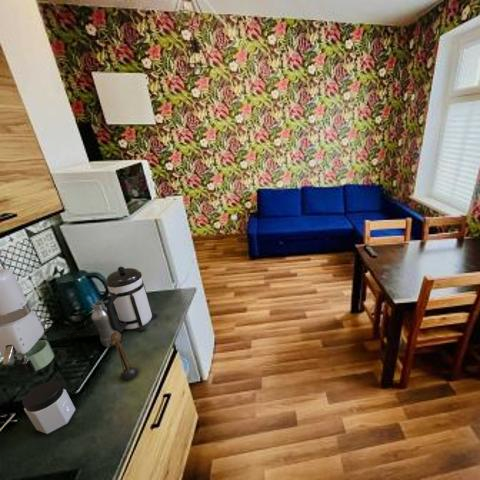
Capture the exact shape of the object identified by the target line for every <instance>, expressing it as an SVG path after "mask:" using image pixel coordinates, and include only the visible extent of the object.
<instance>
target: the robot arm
mask: <svg viewBox="0 0 480 480" xmlns="http://www.w3.org/2000/svg"><path fill="white" fill-rule="evenodd" d="M46 331H47V330H46V322H45V321H41V320H40V318H39V317H38V315H37V314H36V313H35V311H34V310H33V309H32V307H31V305H30V304H29V301H28V300H27V297H26V295H25V293H24V292H23V290H22V287H21V285H20V283H19V281H18V279H17V277H16V275H15V274H14V272H13V271H12V270H11V269H9V268H8V269H7V268H0V354H1V356H2V357H3V360H2V365H3V366H8V367H14V368H15V369H16V370H17V372H18V374H19V375H20V376H22V375H23V376H24V375H27V374H32V373H35V372H36V371H35V368H34V366H33V364H32V362H31V361H30V360H28V355H27V352H28V351H29V350H30V349H31V348H32V347H33V346H34V345H35V343H36V342H37V341H39V340H46V341H48V336H47V335H46ZM16 351H18V352H20V353H16ZM19 355H22V360H17V356H19Z"/></svg>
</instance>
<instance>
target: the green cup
mask: <svg viewBox="0 0 480 480" xmlns="http://www.w3.org/2000/svg"><path fill="white" fill-rule="evenodd" d="M46 340H47V339H45V340H39V341H37V342H36V343H35V345H34V346H33V347H32V348H31V349H30V350H29V351H28V352H27V355H28V360H30V361H31V362H32V364H33V366H34V368H35V371H34V372H37V371H39V370H41V369H43V368H46V367H47V366H48V365H49V364H50V363H51V362H52V361H53V359H55V353H54V350H53V349H52V347H51V344H50V343H49V341H48V340H47V341H46ZM16 353H20V352H18V351H16ZM17 360H22V355H19V356H17Z"/></svg>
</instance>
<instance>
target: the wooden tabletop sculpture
mask: <svg viewBox="0 0 480 480" xmlns="http://www.w3.org/2000/svg"><path fill="white" fill-rule="evenodd" d="M110 339H111V344H110V347H114V346H115V347H116V350H117V352H118V355H119V358H120V362H121V367H122V372H121V374H120V378H121V380H122V382H130V381H132V380H134V379H135V378H136V377H137V375H138V370H137V369H136V368H135V367H133V366H132V365H131V363H130V362H129V360H128V358H127V356H126V353H125V350H124V348H123V345H122V342H121V340H122V334H121V332H119V331H118V332H114V333H113V334H112V335H111V338H110ZM114 344H115V345H114Z"/></svg>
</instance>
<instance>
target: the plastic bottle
mask: <svg viewBox="0 0 480 480" xmlns="http://www.w3.org/2000/svg"><path fill="white" fill-rule="evenodd" d="M91 308H92V310H93V311H92V314H91V320H92V321H93V323H94V325H95V326H96V328H97V330H98V334H99V340H100V343H101V344H102V346H103V347H106V348H110V347H111V346H110V344H111V339H110V338H111V335H112V334H113V333H114V332H119V331H117V330H115V329H114V328H113V326H112V324H111V321H110V318H109V315H108V312H107V306H106V305H105V303H104V301H102V300H99V301H95V302H94V303H92V304H91ZM115 345H116V344H114V346H115Z"/></svg>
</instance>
